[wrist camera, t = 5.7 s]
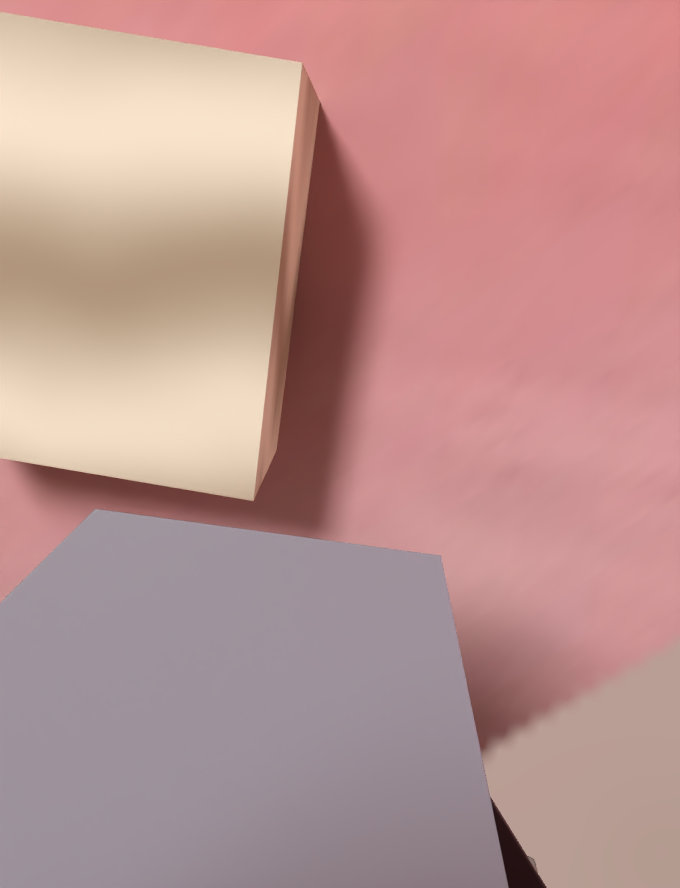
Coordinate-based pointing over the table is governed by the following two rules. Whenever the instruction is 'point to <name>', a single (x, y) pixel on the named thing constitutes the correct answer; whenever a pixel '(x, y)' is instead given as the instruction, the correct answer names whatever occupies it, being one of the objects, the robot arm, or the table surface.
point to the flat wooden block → (148, 253)
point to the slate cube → (236, 716)
